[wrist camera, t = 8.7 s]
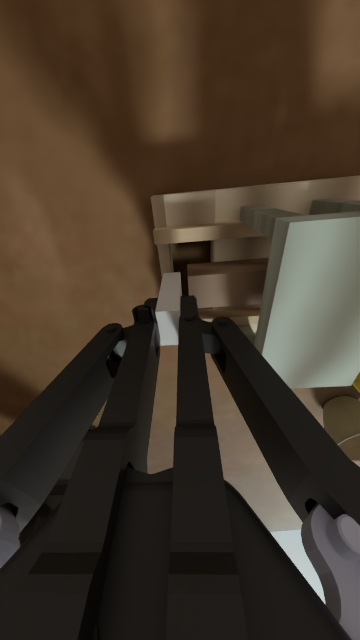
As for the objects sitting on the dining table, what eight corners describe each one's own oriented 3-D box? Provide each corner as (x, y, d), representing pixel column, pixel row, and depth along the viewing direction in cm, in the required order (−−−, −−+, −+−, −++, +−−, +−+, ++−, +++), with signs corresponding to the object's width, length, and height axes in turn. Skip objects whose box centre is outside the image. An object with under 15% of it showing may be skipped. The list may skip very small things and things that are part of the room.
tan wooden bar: (189, 302, 20) (191, 331, 16) (186, 253, 18) (187, 273, 13) (371, 289, 19) (422, 317, 15) (398, 235, 17) (470, 251, 12)
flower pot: (377, 382, 32) (422, 426, 26) (361, 415, 37) (395, 458, 31) (312, 390, 33) (340, 435, 27) (305, 421, 39) (327, 464, 33)
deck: (171, 322, 25) (164, 403, 16) (154, 195, 18) (123, 204, 8) (356, 311, 24) (468, 391, 15) (426, 169, 16) (762, 143, 7)
